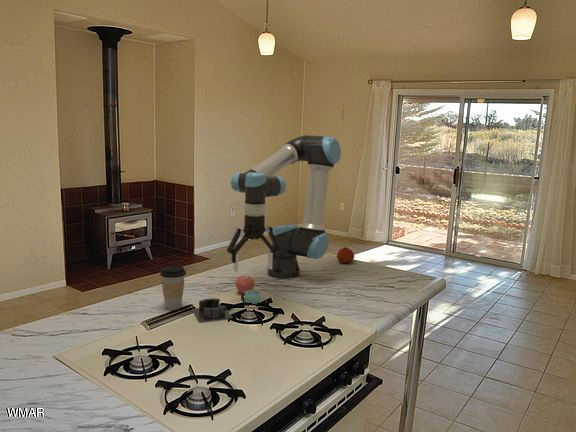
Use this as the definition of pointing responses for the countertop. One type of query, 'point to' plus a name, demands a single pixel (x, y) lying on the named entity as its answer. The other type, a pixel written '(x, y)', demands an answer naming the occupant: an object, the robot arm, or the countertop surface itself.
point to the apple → (244, 283)
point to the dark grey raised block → (211, 311)
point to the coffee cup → (173, 286)
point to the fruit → (345, 255)
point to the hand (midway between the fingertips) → (253, 269)
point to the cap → (252, 296)
